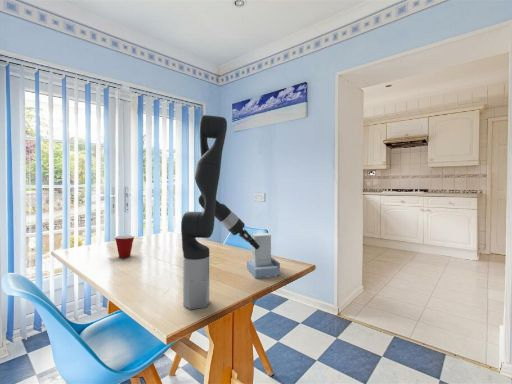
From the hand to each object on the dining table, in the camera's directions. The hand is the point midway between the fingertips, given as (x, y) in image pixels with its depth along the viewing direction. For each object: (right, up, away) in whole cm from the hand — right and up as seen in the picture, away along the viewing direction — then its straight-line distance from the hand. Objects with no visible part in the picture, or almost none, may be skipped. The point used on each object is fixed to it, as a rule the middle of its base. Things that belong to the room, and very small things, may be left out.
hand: (255, 245), depth 127 cm
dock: (+3, -13, +2) cm, 14 cm away
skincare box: (+3, -10, +2) cm, 10 cm away
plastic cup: (-76, -12, +27) cm, 82 cm away
